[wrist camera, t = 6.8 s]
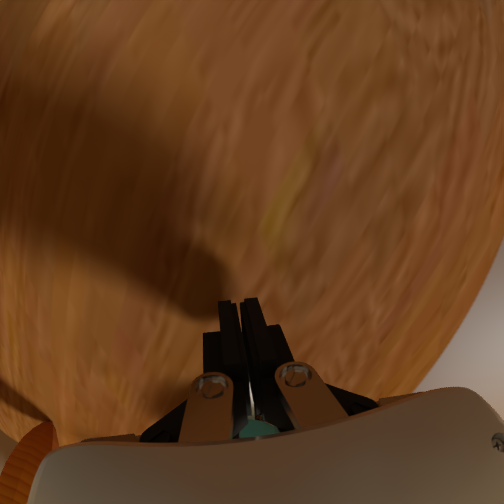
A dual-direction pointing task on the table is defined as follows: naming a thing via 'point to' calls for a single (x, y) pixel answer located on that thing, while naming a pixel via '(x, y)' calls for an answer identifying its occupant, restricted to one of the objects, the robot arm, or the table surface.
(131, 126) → the table surface
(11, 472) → the carrot
